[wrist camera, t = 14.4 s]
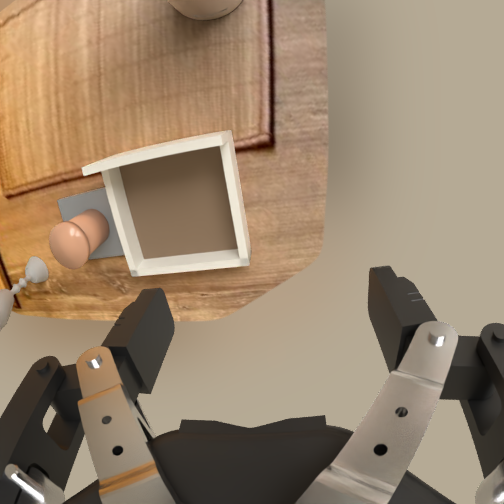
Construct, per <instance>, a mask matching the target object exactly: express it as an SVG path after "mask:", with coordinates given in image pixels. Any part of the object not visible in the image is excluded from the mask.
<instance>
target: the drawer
mask: <svg viewBox="0 0 504 504" xmlns="http://www.w3.org/2000/svg"><path fill="white" fill-rule="evenodd" d="M82 171H83V175H84V176H85V175H89V174H93V173H96V172H100V171H101V172H102V177H103V181H104V185H105V189H106V192H107V196H108V200H109V204H110V207H111V211H112V214H113V218H114V221H115V225H116V228H117V232H118V235H119V238H120V241H121V245H122V248H123V251H124V254H125V257H126V260H127V263H128V266H129V269H130V272H131V275H132V277H135V276H146V275H156V274H167V273H178V272H188V271H199V270H209V269H219V268H229V267H239V266H249V265H250V258H251V245H250V239H249V233H248V227H247V221H246V215H245V209H244V203H243V196H242V190H241V184H240V178H239V172H238V166H237V160H236V154H235V148H234V142H233V136H232V130H226V131H220V132H214V133H209V134H203V135H198V136H193V137H188V138H183V139H178V140H173V141H169V142H164V143H160V144H155V145H151V146H147V147H143V148H138V149H134V150H130V151H127V152H123V153H119V154H115V155H112V156H109V157H107V158H104V159H102V160H99V161H96V162H94V163H91V164H89V165H86V166H84V167H82Z"/></svg>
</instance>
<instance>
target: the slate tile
mask: <svg viewBox="0 0 504 504" xmlns="http://www.w3.org/2000/svg"><path fill="white" fill-rule="evenodd" d="M57 202H58V205H59V209H60V212H61V215H62V218H63V221H69V220H71V219H72V218H74V217H75V216H77V215H79V214H80V213H82V212H83V211H85V210H87V209H95V210H98V211H99V212H101V213H102V214H103V215H104V216H105V218H106V219H107V221H108V224H109V236H108V238H107V240H106V241H105V242H104V243H103V244H101V245H100V246H99V247H98V248H97V249H96V250H95V251H93V252H92V253H91V254H90V256H89V259H97V258H105V257H113V256H121V255H125V254H124V251H123V248H122V245H121V241H120V238H119V235H118V232H117V228H116V225H115V221H114V218H113V214H112V211H111V207H110V204H109V200H108V196H107V192H106V189H105V187H103V188H99V189H94V190H91V191H87V192H83V193H79V194H75V195H71V196H68V197H64V198H61V199H59V200H57ZM89 259H88V260H89Z"/></svg>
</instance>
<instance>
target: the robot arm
mask: <svg viewBox="0 0 504 504" xmlns="http://www.w3.org/2000/svg"><path fill="white" fill-rule="evenodd" d="M167 1H168V2H169V3H170V4H171V5H172V6H173V7H174V8H175V9H177V10H178V11H179V12H180V13H181V14H183V15H184V16H186V17H189V18H191V19H196V20H211V19H216V18H219V17H222V16H224V15H226V14H229V13H230V12H231V11H233V10H234V9H235V8H236V7H237V6H238V5H239V4H240V3H241V2H242V0H167ZM368 291H369V292H368V311H369V317H370V320H371V322H372V325H373V328H374V331H375V333H376V336H377V339H378V341H379V344H380V347H381V350H382V352H383V355H384V358H385V361H386V364H387V367H388V370H389V373H390V375H389V377H388V378H387V380H386V382H385V384H384V385H383V387H382V389H381V390H380V392H379V394H378V396H377V397H376V399H375V400H374V402H373V404H372V405H371V407H370V409H369V410H368V412H367V413H366V415H365V416H364V418H363V420H362V421H361V423H360V424H359V426H358V427H357V429H356V430H355V432H353V431H350V430H348V429H344V428H341V427H336V426H329V425H326V419H325V415H323V416H313V417H302V418H291V419H285V420H282V421H278V422H274V423H270V424H266V425H263V426H259V427H254V428H246V427H241V426H236V425H231V424H227V423H222V422H218V421H205V420H182V421H181V424H180V428H179V430H174V431H170V432H167V433H164V434H162V435H159V436H157V437H156V435H155V433H154V432H153V430H152V428H151V426H150V424H149V422H148V420H147V418H146V415H145V414H144V411H143V409H142V407H141V405H140V403H139V401H138V400H137V397H138V394H139V393H145V394H151V391H152V389H153V386H154V384H155V381H156V378H157V376H158V373H159V370H160V368H161V365H162V363H163V360H164V357H165V355H166V352H167V350H168V347H169V345H170V342H171V340H172V337H173V334H174V320H173V317H172V314H171V311H170V308H169V305H168V302H167V299H166V296H165V293H164V291H163V290H162V289H161V288H155V289H143V290H142V291H141V293H140V294H139V296H138V298H137V299H136V301H135V302H132V303H131V304H130V305H129V306H127V307H126V308H125V309H124V310H123V312H122V313H121V315H120V316H119V319H117V321H116V323H115V326H113V327H112V329H111V331H110V332H109V334H108V335H107V337H106V339H105V340H104V342H103V343H102V345H101V347H94V348H91V349H89V350H87V351H85V352H84V353H83V354H82V355H81V356H80V357H79V358H78V360H77V363H76V364H72V365H67V366H61V364H60V363H59V361H58V359H57V358H56V357H53V356H47V357H44V358H41V359H39V360H38V361H37V362H35V363H34V364H33V365H32V367H31V368H30V370H29V371H28V373H27V375H26V376H25V378H24V379H23V381H22V383H21V384H20V386H19V387H18V389H17V391H16V392H15V394H14V395H13V397H12V399H11V401H10V402H9V404H8V406H7V407H6V409H5V411H4V413H3V414H2V416H1V418H0V504H455V503H454V502H452V501H451V500H449V499H448V498H446V497H445V496H443V495H442V494H440V493H439V492H438V491H436V490H435V489H433V488H432V487H430V486H429V485H428V484H426V483H425V482H423V481H422V480H420V479H419V478H418V477H416V476H415V475H413V474H412V473H411V472H409V471H408V470H407V468H408V466H409V464H410V462H411V460H412V459H413V457H414V455H415V452H416V450H417V448H418V446H419V444H420V442H421V440H422V438H423V436H424V433H425V431H426V429H427V427H428V425H429V422H430V420H431V417H432V415H433V413H434V410H435V408H436V405H437V403H438V400H439V399H449V400H451V399H452V400H460V403H461V406H462V408H463V412H464V414H465V417H466V420H467V423H468V426H469V429H470V432H471V435H472V438H473V441H474V444H475V448H476V451H477V454H478V457H479V461H480V465H481V468H482V472H483V476H484V480H483V481H482V482H481V484H480V485H479V487H478V489H477V491H476V496H475V503H476V504H504V325H503V324H500V323H492V324H488V325H486V326H485V327H484V328H483V329H482V331H481V334H480V337H475V336H459V335H458V334H457V332H456V330H455V329H454V328H453V327H452V326H450V325H449V324H447V323H444V322H440V321H437V319H436V318H435V316H434V314H433V313H432V311H431V310H430V308H429V306H428V305H427V303H426V302H425V300H423V297H422V296H421V294H420V293H419V291H418V289H417V288H416V286H415V285H414V283H412V282H411V281H409V280H408V279H406V278H405V277H398V278H397V276H396V274H395V273H394V271H393V270H392V268H391V267H390V266H382V267H373V268H370V272H369V290H368ZM50 405H51V406H52V407H53V409H54V410H55V411H56V412H57V413H56V415H55V417H54V419H53V421H52V423H51V425H50V428H49V430H48V432H47V433H46V432H45V430H44V428H43V424H42V423H43V418H44V416H45V414H46V412H47V410H48V408H49V406H50ZM84 435H85V436H86V440H87V443H88V447H89V451H90V454H91V457H92V461H93V464H94V467H95V470H96V473H97V476H98V479H97V480H96V481H94V482H93V483H92V484H90V485H89V486H87V487H86V488H84V489H83V490H81V491H80V492H78V493H77V494H76V495H74V496H72V497H71V498H70V499H68V500H66V501H65V495H64V490H65V487H66V484H67V480H68V478H69V475H70V472H71V469H72V466H73V464H74V461H75V458H76V456H77V453H78V450H79V448H80V445H81V442H82V440H83V437H84Z"/></svg>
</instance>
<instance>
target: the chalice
mask: <svg viewBox="0 0 504 504" xmlns="http://www.w3.org/2000/svg"><path fill="white" fill-rule="evenodd" d="M25 274H26V277H25V278H23V279H22V278H20V279H19V283H18V284H14V285H13V288H12V290H11V291H9V290H7V289H1V290H0V330H1V329H2V328H3V327H4V326H5V325H6V324H7V321H8V319H9V316H10V313H11V310H12V307H13V303H14V297H13V295H14V294H16V293H19V292H20V289H21V288H22V287H26V284H27V282H28V281H31V282H33V283H38V282H43V281H46V280H47V279H48V269H47V267H46V265H45V263H44V262H43V261H42V260H41V259H40V258H38V257H35V256H33V257H31V258H30V259H29V261H28V263H27V266H26V268H25Z"/></svg>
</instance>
